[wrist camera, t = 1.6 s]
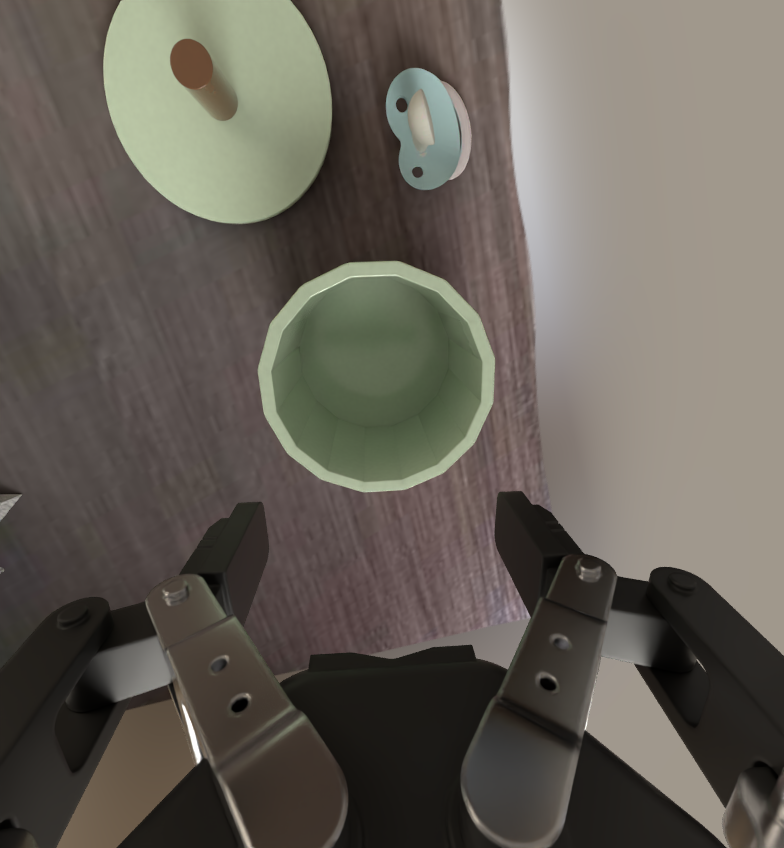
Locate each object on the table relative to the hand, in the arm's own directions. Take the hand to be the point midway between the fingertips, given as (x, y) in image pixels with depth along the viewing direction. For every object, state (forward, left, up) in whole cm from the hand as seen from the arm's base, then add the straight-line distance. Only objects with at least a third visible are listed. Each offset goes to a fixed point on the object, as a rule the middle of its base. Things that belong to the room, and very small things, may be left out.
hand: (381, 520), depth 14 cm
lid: (-21, +7, -23) cm, 32 cm away
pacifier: (-9, +16, -24) cm, 30 cm away
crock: (-1, +1, -24) cm, 24 cm away
